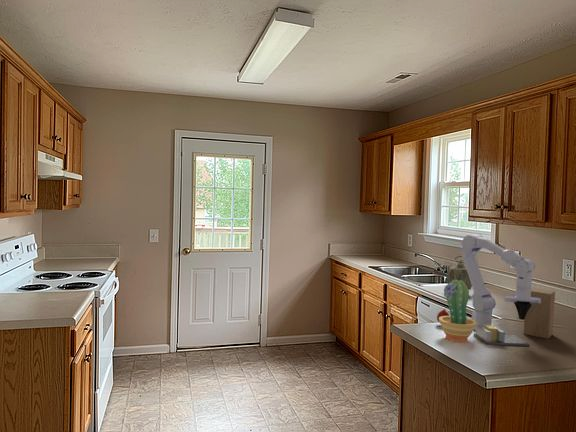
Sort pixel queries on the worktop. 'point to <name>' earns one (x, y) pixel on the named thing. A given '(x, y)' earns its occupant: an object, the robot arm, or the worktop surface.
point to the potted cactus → (457, 313)
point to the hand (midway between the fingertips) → (521, 319)
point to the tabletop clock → (459, 274)
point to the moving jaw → (500, 335)
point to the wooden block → (540, 314)
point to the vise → (486, 335)
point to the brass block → (494, 332)
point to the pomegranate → (442, 314)
